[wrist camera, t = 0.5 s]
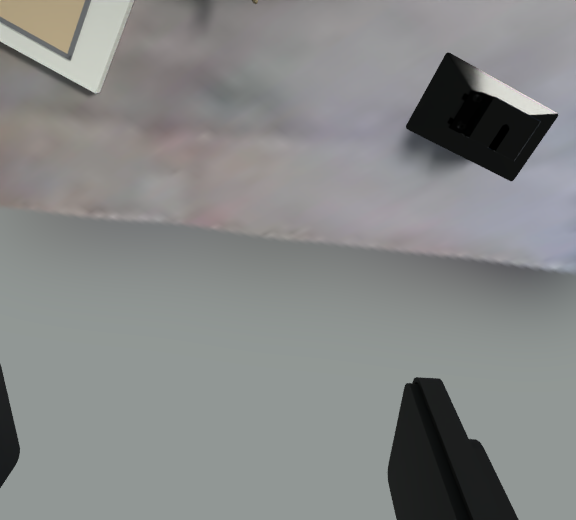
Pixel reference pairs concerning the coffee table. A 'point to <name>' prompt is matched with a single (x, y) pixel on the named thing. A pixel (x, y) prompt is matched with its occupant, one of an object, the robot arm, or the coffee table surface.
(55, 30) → the board
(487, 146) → the black block on base
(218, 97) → the coffee table surface
